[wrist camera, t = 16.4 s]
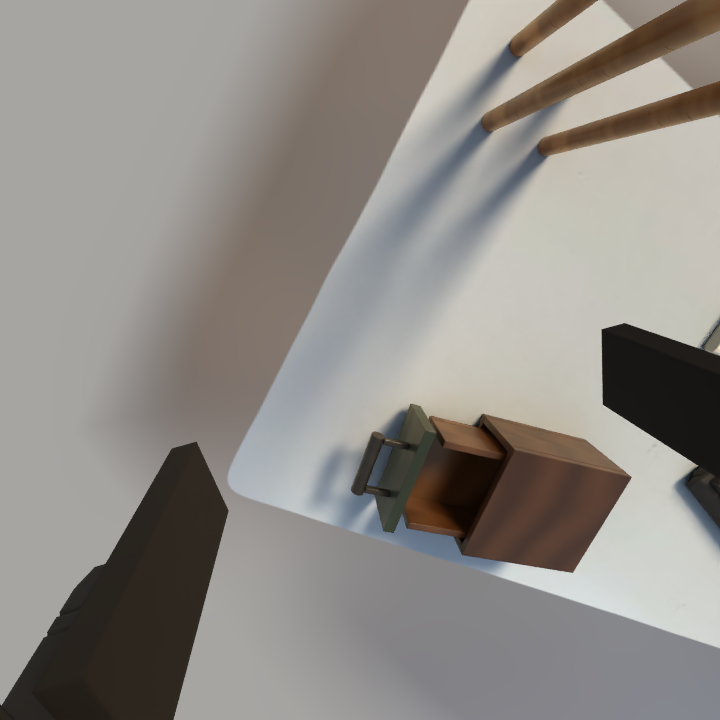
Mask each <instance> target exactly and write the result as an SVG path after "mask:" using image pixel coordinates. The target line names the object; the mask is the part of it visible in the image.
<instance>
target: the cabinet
mask: <svg viewBox="0 0 720 720" xmlns="http://www.w3.org/2000/svg"><path fill="white" fill-rule="evenodd" d="M477 427H478V428H482V429H486V430H490V431H491V433H492V434H493V435H494V436H495V437H496V438H497V440H498V441H499V442H500V443H501V444H502V445H503V447H504V448H505V449H506V450H507V451H508V453H507V455H506V457H505V459H504V461H503V463H502V465H501V467H500V469H499V471H498V473H497V475H496V477H495V479H494V481H493V483H492V486H491V488H490V490H489V492H488V494H487V496H486V498H485V500H484V502H483V504H482V506H481V508H480V510H479V512H478V514H477V516H476V518H475V520H474V522H473V524H472V526H471V528H470V530H469V532H468V534H467V536H466V538H460V537H454V538H455V541H456V543H457V545H458V547H459V549H460V552H461V554H462V555H466V556H472V557H478V558H484V559H490V560H496V561H503V562H509V563H515V564H521V565H527V566H534V567H540V568H546V569H552V570H558V571H565V572H571V573H573V572H574V570H575V568H576V567H577V565H578V563H579V562H580V560H581V559H582V557H583V555H584V554H585V552H586V551H587V549H588V547H589V546H590V544H591V543H592V541H593V539H594V538H595V536H596V534H597V533H598V531H599V530H600V528H601V526H602V525H603V523H604V522H605V520H606V518H607V517H608V515H609V513H610V512H611V510H612V509H613V507H614V505H615V504H616V502H617V501H618V499H619V497H620V496H621V494H622V493H623V491H624V489H625V488H626V486H627V484H628V483H629V481H630V480H631V478H632V477H631V476H630V475H628V474H627V473H626V472H625V471H624V470H622V469H621V468H620V467H619V466H617V465H616V464H615V463H614V462H612V461H611V460H610V459H609V458H607V457H606V456H605V455H604V454H602V453H601V452H600V451H599V450H597V449H596V448H595V447H594V446H592V445H591V444H590V443H589V442H587V441H586V440H584V439H580V438H576V437H572V436H568V435H564V434H560V433H556V432H552V431H548V430H545V429H541V428H537V427H533V426H529V425H525V424H521V423H517V422H513V421H509V420H505V419H501V418H497V417H493V416H489V415H485V414H483V415H482V417H481V419H480V422H479V424H478V426H477Z"/></svg>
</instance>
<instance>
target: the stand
mask: <svg viewBox="0 0 720 720" xmlns="http://www.w3.org/2000/svg"><path fill="white" fill-rule="evenodd" d="M596 1H598V0H557V1H555V2H554V3H553V4H552V5H551V6H550V7H548V8H547V9H546V10H545V11H544V12H543V13H541V14H540V15H539V16H538V17H537V18H536V19H534V20H533V21H532V22H531V23H530V24H528V25H527V26H526V27H525V28H524V29H523V30H521V31H520V32H519V33H518V34H517V35H516V36H514V37H513V39H512V40H511V43H510V51H511V53H512V54H513V55H514V56H516V57H521V56H523V55H524V54H525V53H527V52H528V51H529V50H531V49H532V48H534V47H535V46H536V45H538V44H539V43H540V42H542V41H543V40H544V39H546V38H547V37H549V36H550V35H551V34H553V33H554V32H555V31H557V30H558V29H559V28H561V27H562V26H564V25H565V24H566V23H568V22H569V21H570V20H572V19H573V18H574V17H576V16H577V15H579V14H580V13H581V12H583V11H584V10H585V9H587V8H588V7H590V6H591V5H592V4H594V3H595V2H596ZM719 30H720V0H687V1H685V2H684V3H682V4H680V5H678V6H677V7H675V8H673V9H671V10H669V11H668V12H666V13H664V14H662V15H660V16H659V17H657V18H655V19H653V20H652V21H650V22H648V23H646V24H644V25H643V26H641V27H639V28H637V29H635V30H634V31H632V32H630V33H628V34H626V35H625V36H623V37H621V38H619V39H618V40H616V41H614V42H612V43H610V44H609V45H607V46H605V47H603V48H602V49H600V50H598V51H596V52H594V53H593V54H591V55H589V56H587V57H585V58H584V59H582V60H580V61H578V62H577V63H575V64H573V65H571V66H569V67H568V68H566V69H564V70H562V71H561V72H559V73H557V74H555V75H553V76H552V77H550V78H548V79H546V80H544V81H543V82H541V83H539V84H537V85H536V86H534V87H532V88H530V89H528V90H527V91H525V92H523V93H521V94H519V95H518V96H516V97H514V98H512V99H511V100H509V101H507V102H505V103H503V104H502V105H500V106H498V107H496V108H495V109H493V110H491V111H489V112H487V113H486V114H485V115H484V116H483V119H482V127H483V129H484V130H485V131H487V132H492V131H494V130H497V129H499V128H501V127H503V126H506V125H508V124H510V123H512V122H515V121H517V120H519V119H521V118H524V117H526V116H528V115H530V114H533V113H535V112H537V111H539V110H542V109H544V108H546V107H548V106H551V105H553V104H555V103H557V102H560V101H562V100H564V99H566V98H569V97H571V96H573V95H575V94H578V93H580V92H582V91H584V90H587V89H589V88H591V87H593V86H596V85H598V84H600V83H602V82H605V81H607V80H609V79H611V78H614V77H616V76H618V75H620V74H623V73H625V72H627V71H629V70H632V69H634V68H636V67H638V66H641V65H643V64H645V63H647V62H650V61H652V60H654V59H656V58H659V57H661V56H663V55H665V54H668V53H670V52H672V51H674V50H676V49H679V48H681V47H683V46H686V45H688V44H690V43H692V42H694V41H697V40H699V39H701V38H704V37H705V36H708V35H710V34H713V33H715V32H717V31H719ZM719 114H720V81H719V82H716V83H713V84H710V85H707V86H703V87H700V88H697V89H694V90H691V91H688V92H685V93H682V94H678V95H675V96H672V97H669V98H666V99H663V100H660V101H657V102H654V103H650V104H647V105H644V106H641V107H638V108H635V109H632V110H629V111H626V112H623V113H619V114H616V115H613V116H610V117H607V118H604V119H601V120H598V121H595V122H591V123H588V124H585V125H582V126H579V127H576V128H573V129H570V130H567V131H563V132H560V133H557V134H554V135H551V136H548V137H545V138H543V139H542V140H541V141H540V143H539V146H538V150H539V153H540V154H541V155H542V156H549V155H553V154H557V153H562V152H566V151H570V150H574V149H578V148H582V147H586V146H591V145H595V144H599V143H603V142H607V141H611V140H615V139H619V138H624V137H628V136H632V135H636V134H640V133H644V132H648V131H653V130H657V129H661V128H665V127H669V126H673V125H677V124H681V123H686V122H690V121H694V120H698V119H702V118H706V117H710V116H715V115H719Z"/></svg>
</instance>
